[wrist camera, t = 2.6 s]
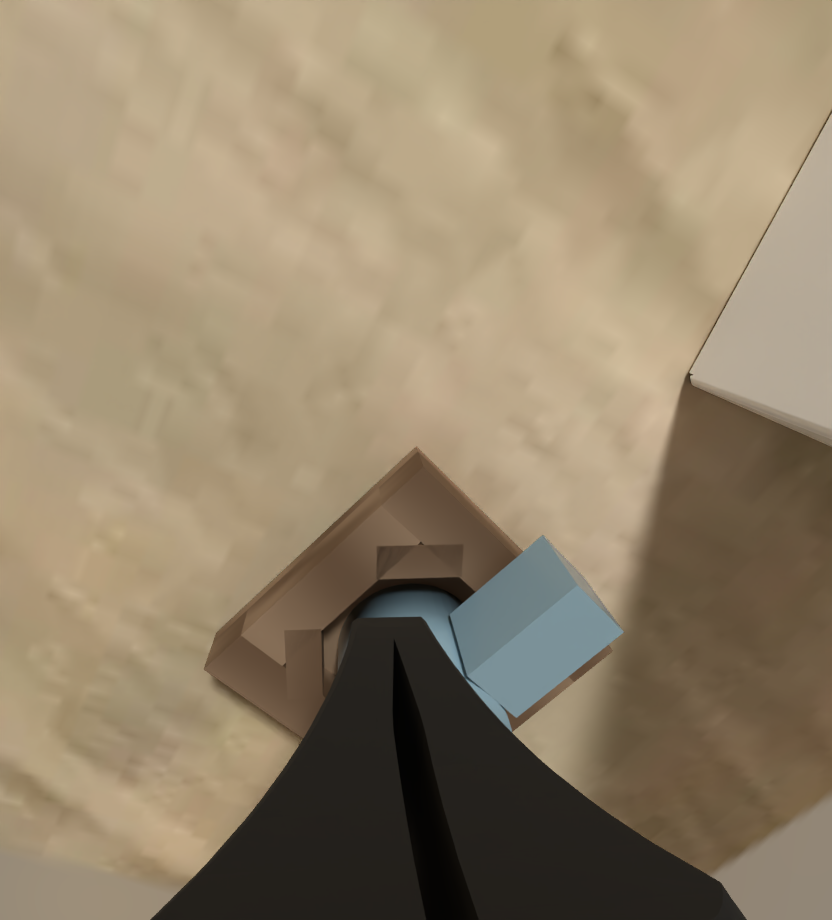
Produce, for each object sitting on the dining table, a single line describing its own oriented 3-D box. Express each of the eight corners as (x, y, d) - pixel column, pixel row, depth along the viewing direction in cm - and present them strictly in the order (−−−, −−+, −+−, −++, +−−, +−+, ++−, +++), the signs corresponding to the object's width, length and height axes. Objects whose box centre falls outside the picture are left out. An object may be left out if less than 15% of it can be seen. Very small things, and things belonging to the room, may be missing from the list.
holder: (405, 770, 25) (410, 813, 23) (216, 632, 21) (203, 669, 20) (591, 618, 23) (612, 651, 21) (416, 446, 20) (423, 466, 18)
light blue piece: (405, 723, 23) (420, 843, 18) (307, 648, 22) (297, 759, 17) (587, 573, 22) (653, 662, 17) (498, 480, 20) (543, 550, 15)
